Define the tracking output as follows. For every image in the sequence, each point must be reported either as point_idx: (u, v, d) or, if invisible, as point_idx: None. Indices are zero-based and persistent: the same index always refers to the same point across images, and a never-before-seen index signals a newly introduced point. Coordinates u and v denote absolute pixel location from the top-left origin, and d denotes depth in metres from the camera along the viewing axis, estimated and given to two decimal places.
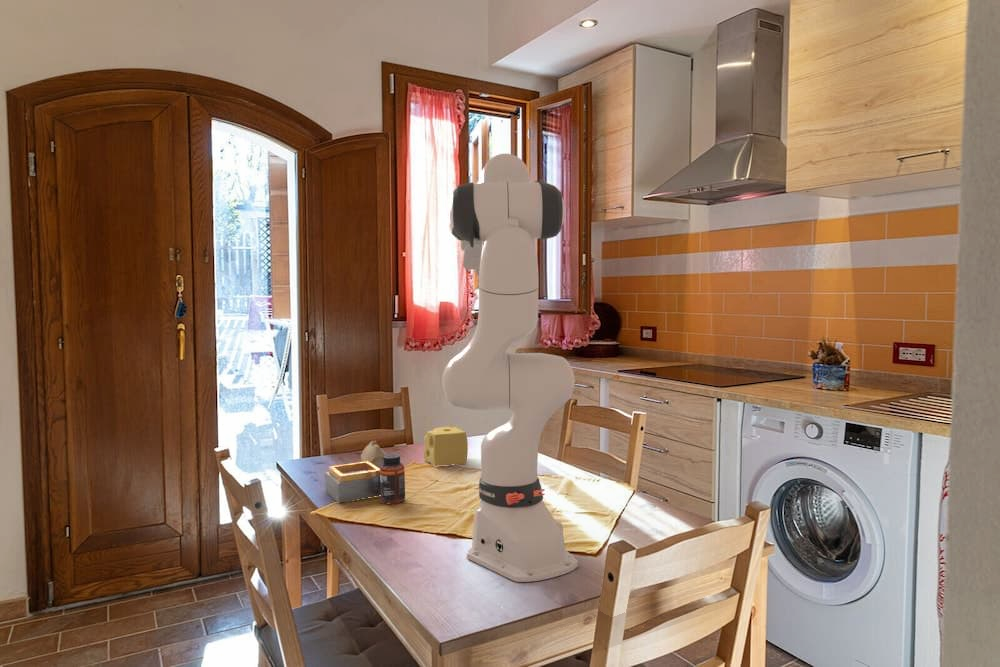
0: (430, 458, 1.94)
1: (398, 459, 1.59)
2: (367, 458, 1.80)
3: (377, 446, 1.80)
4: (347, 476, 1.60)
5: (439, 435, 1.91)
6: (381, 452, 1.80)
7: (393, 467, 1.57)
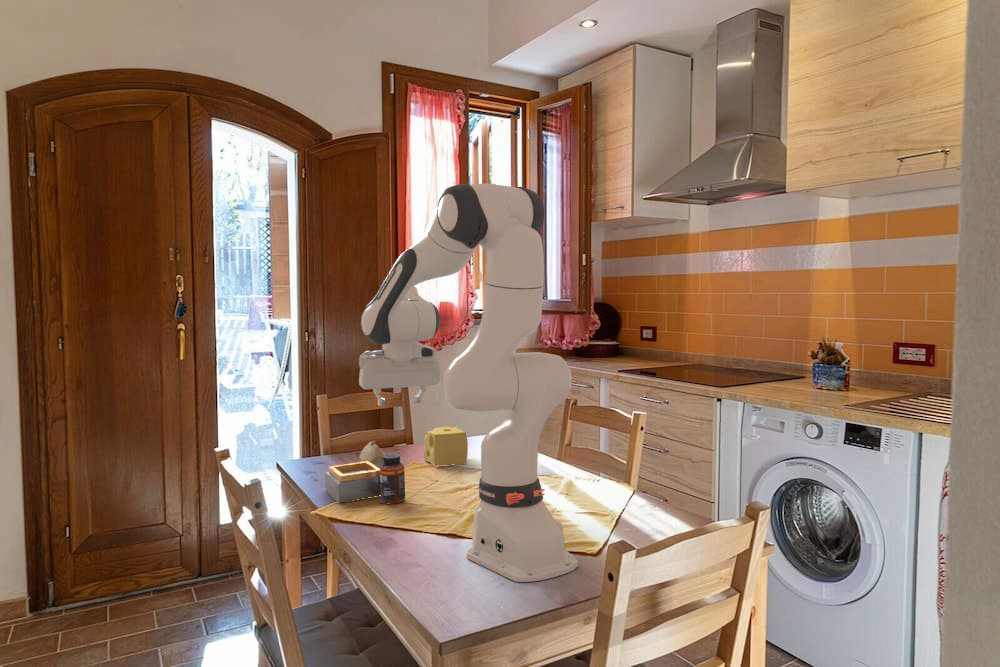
0: (430, 458, 1.94)
1: (398, 459, 1.59)
2: (366, 458, 1.79)
3: (376, 446, 1.80)
4: (347, 476, 1.60)
5: (439, 435, 1.91)
6: (380, 452, 1.80)
7: (393, 467, 1.57)
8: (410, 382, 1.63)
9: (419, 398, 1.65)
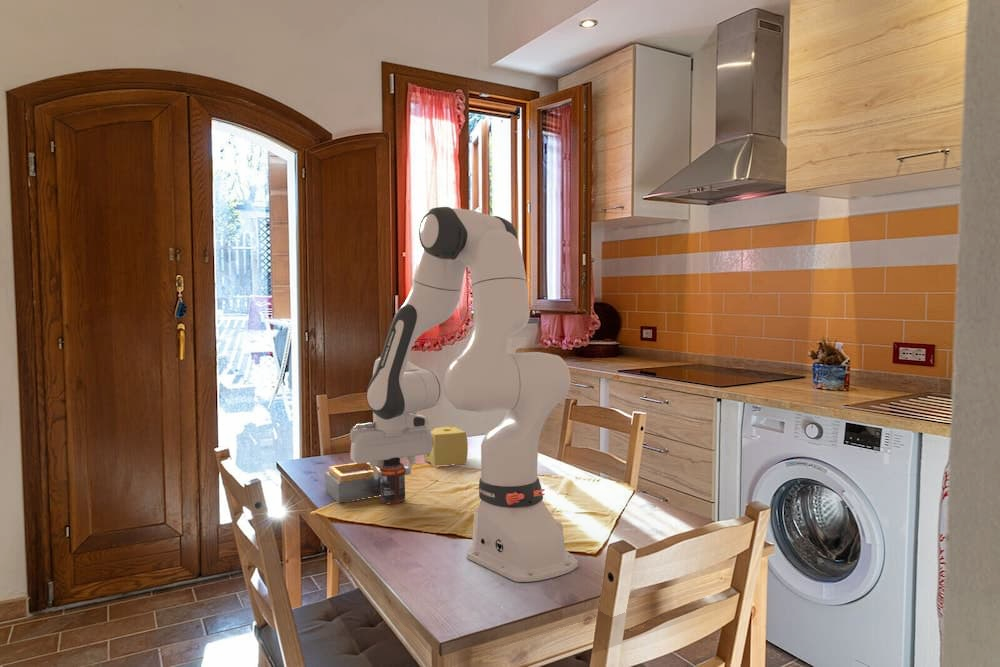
0: (430, 458, 1.94)
1: (398, 459, 1.59)
2: None
3: None
4: (347, 476, 1.60)
5: (439, 435, 1.91)
6: None
7: (393, 467, 1.57)
8: (403, 453, 1.59)
9: (408, 469, 1.61)
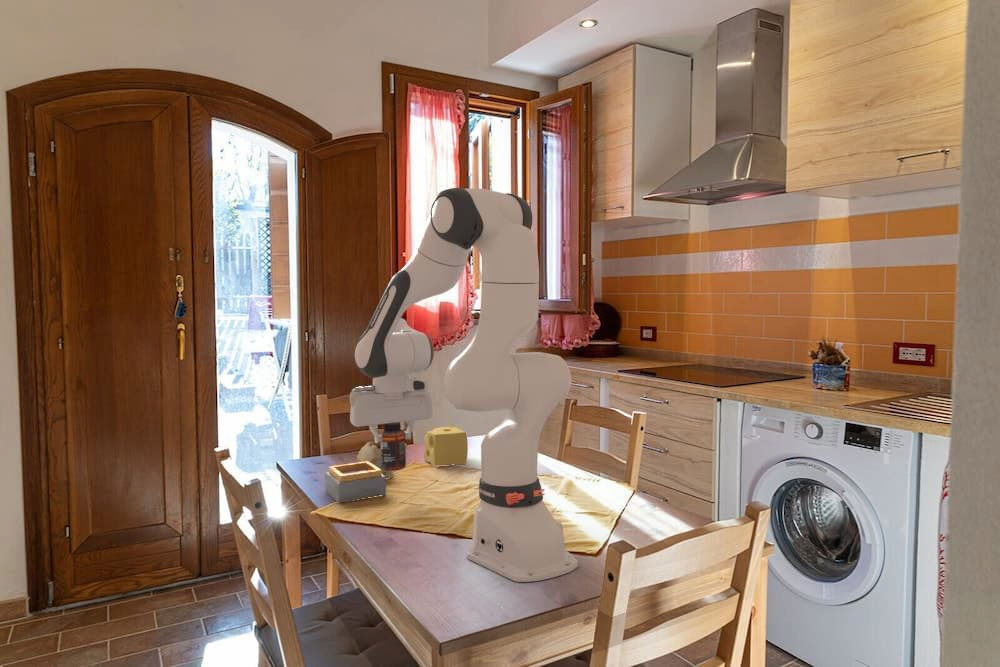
0: (430, 458, 1.94)
1: (398, 425, 1.58)
2: (365, 459, 1.79)
3: (375, 447, 1.80)
4: (347, 476, 1.60)
5: (439, 435, 1.91)
6: (379, 453, 1.79)
7: (393, 433, 1.57)
8: (403, 417, 1.58)
9: (408, 434, 1.60)
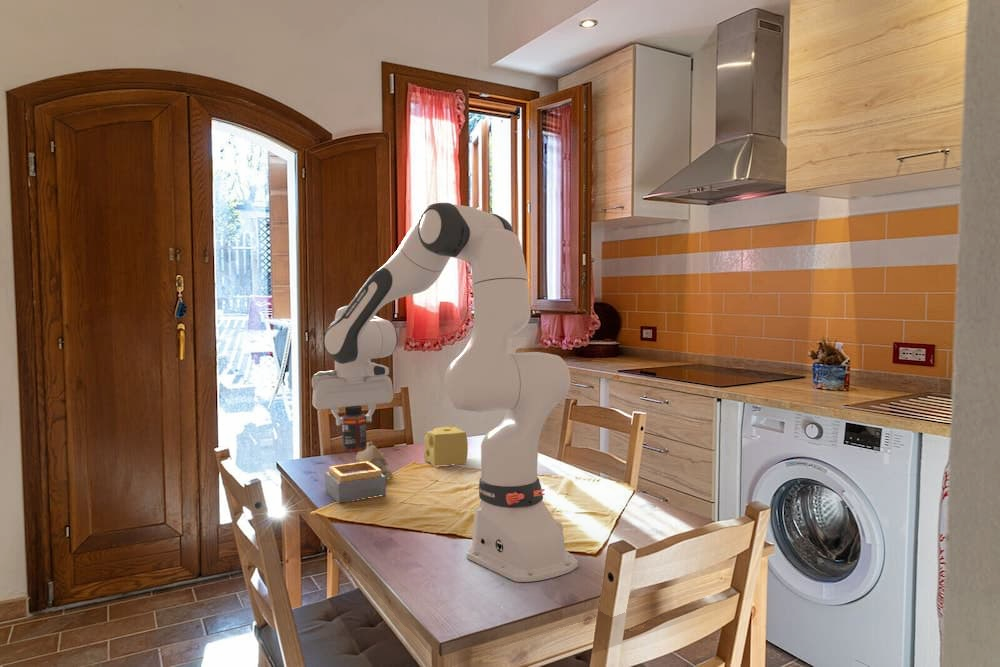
0: (430, 458, 1.94)
1: (359, 409, 1.65)
2: (364, 459, 1.78)
3: (374, 447, 1.79)
4: (347, 476, 1.60)
5: (439, 435, 1.91)
6: (378, 453, 1.79)
7: (354, 416, 1.63)
8: (363, 401, 1.65)
9: (369, 417, 1.67)
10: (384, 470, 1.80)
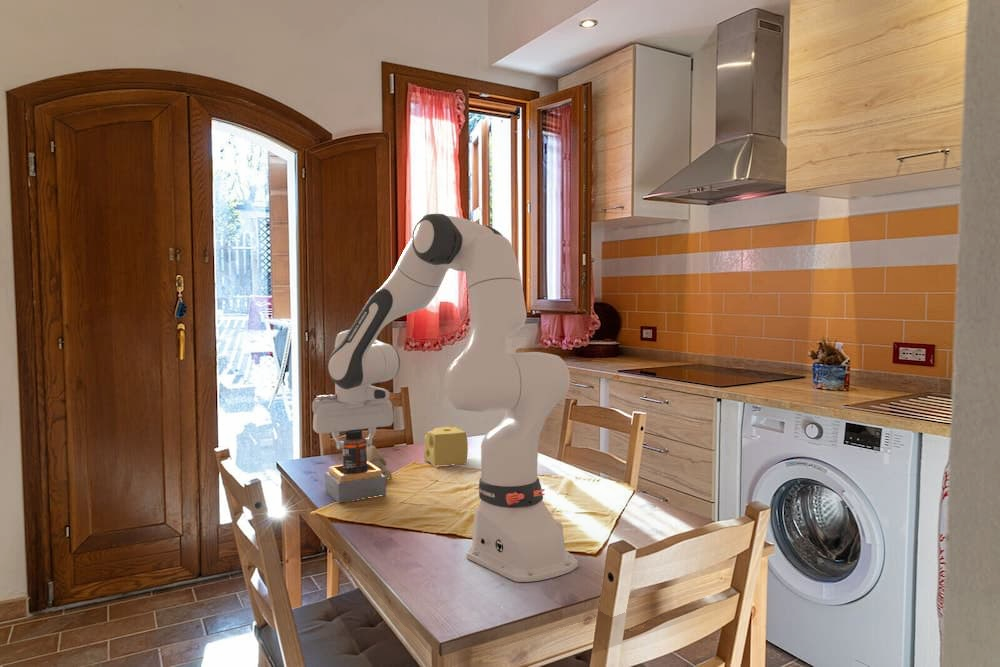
0: (430, 458, 1.94)
1: (360, 433, 1.65)
2: None
3: (373, 447, 1.79)
4: (347, 476, 1.60)
5: (439, 435, 1.91)
6: (378, 453, 1.79)
7: (355, 441, 1.64)
8: (364, 424, 1.65)
9: (369, 440, 1.67)
10: (383, 470, 1.80)
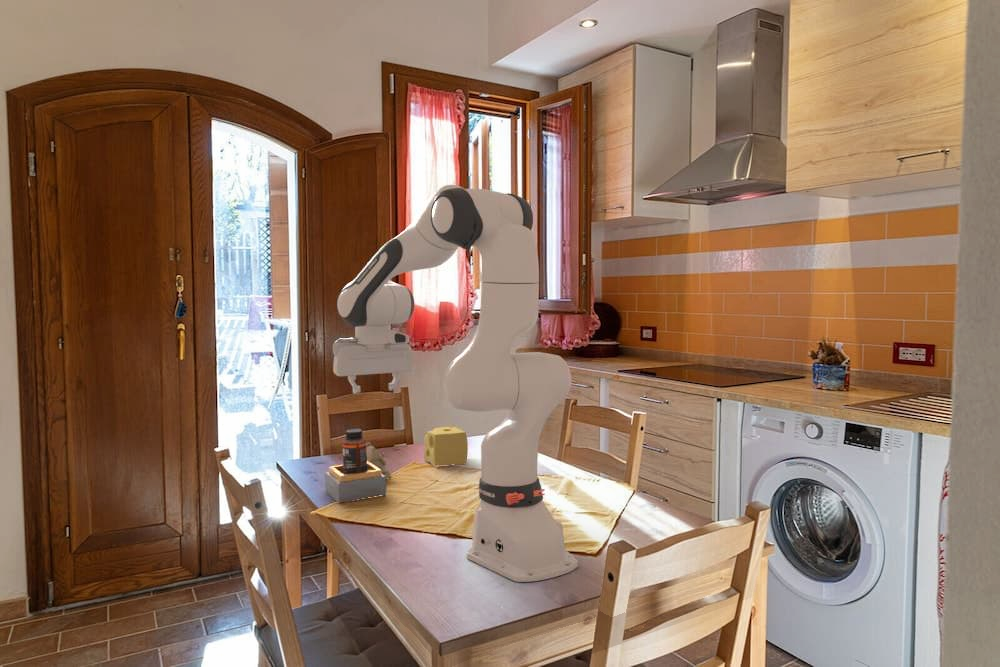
0: (430, 458, 1.94)
1: (360, 433, 1.65)
2: None
3: (372, 448, 1.79)
4: (347, 476, 1.60)
5: (439, 435, 1.91)
6: (377, 453, 1.78)
7: (355, 441, 1.64)
8: (384, 368, 1.64)
9: (394, 385, 1.66)
10: (383, 470, 1.79)
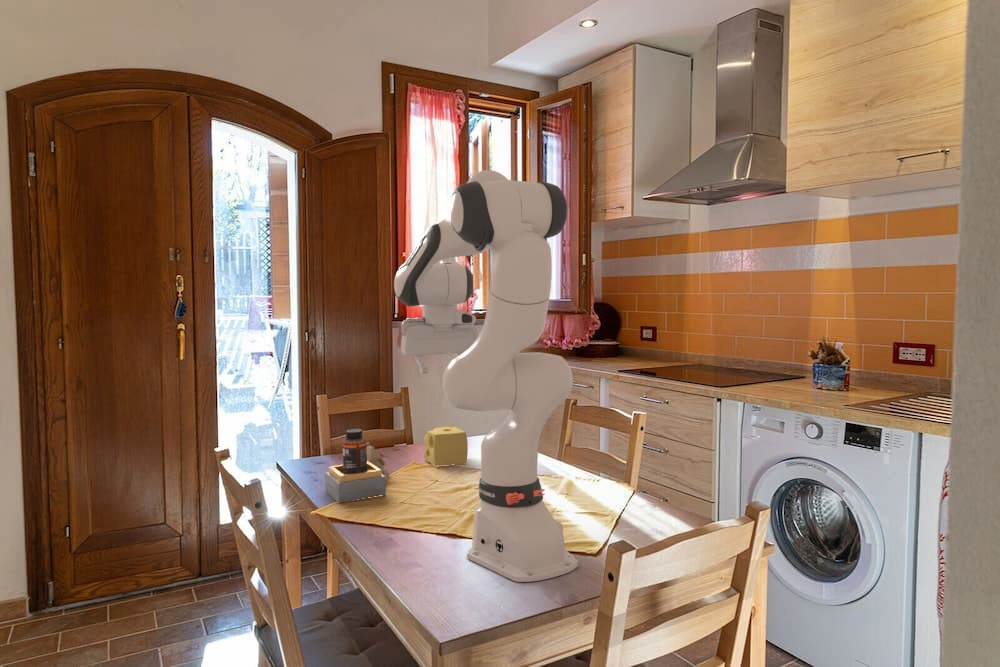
0: (430, 458, 1.94)
1: (360, 433, 1.65)
2: None
3: (372, 448, 1.79)
4: (347, 476, 1.60)
5: (439, 435, 1.91)
6: (376, 453, 1.78)
7: (355, 441, 1.64)
8: (451, 349, 1.63)
9: None
10: (382, 470, 1.79)
